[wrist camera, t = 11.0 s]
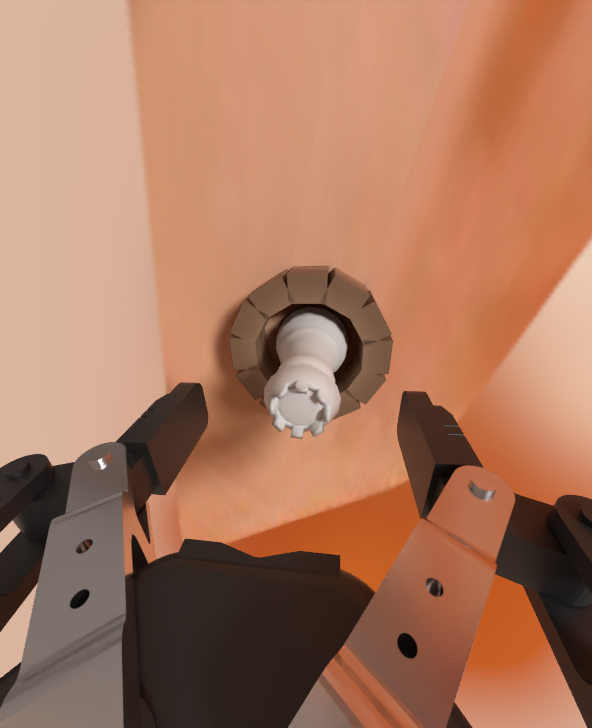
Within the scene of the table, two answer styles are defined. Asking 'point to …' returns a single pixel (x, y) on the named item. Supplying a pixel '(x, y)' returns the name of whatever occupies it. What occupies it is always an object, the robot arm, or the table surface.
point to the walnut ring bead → (313, 289)
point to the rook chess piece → (306, 371)
